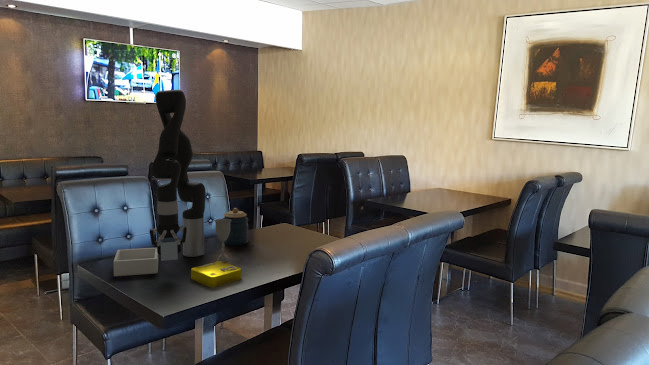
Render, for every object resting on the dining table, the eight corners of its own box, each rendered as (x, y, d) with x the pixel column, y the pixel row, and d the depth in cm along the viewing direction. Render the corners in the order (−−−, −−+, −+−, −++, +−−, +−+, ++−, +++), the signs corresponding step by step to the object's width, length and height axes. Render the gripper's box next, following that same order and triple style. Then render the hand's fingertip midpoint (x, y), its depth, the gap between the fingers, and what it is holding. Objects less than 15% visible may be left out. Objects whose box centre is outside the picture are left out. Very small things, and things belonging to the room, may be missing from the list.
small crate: (177, 253, 187) (176, 236, 186) (177, 259, 179) (177, 241, 178) (161, 254, 185) (160, 237, 184) (161, 260, 177) (160, 243, 176)
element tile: (220, 270, 194) (220, 259, 194) (243, 279, 185) (243, 267, 184) (188, 279, 183) (188, 267, 182) (212, 289, 174) (212, 276, 173)
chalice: (214, 263, 202) (214, 222, 199) (214, 258, 208) (214, 218, 206) (232, 262, 204) (232, 222, 201) (230, 257, 210) (230, 218, 208)
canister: (217, 244, 231) (217, 209, 228) (229, 237, 243) (229, 204, 241) (241, 247, 227) (241, 211, 225) (252, 240, 239) (253, 206, 237)
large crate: (158, 260, 202) (158, 247, 201) (157, 273, 187) (157, 258, 186) (118, 263, 197) (117, 249, 196) (113, 276, 182) (113, 261, 181)
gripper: (186, 208, 185) (187, 249, 188) (148, 210, 180) (149, 252, 183) (187, 213, 178) (188, 255, 181) (147, 215, 173) (149, 258, 176)
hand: (169, 253), depth 182 cm, fingers closed on small crate, 6 cm apart
